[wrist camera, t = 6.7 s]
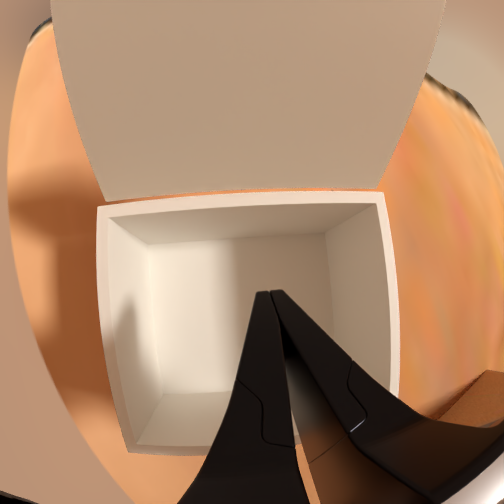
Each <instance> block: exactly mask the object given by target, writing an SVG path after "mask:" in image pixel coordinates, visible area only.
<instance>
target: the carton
mask: <svg viewBox="0 0 504 504" xmlns="http://www.w3.org/2000/svg"><path fill="white" fill-rule="evenodd" d="M96 269H97V292H98V306H99V317H100V326H101V334H102V342H103V349H104V356H105V362H106V367H107V373H108V378H109V383H110V388H111V392H112V397H113V401H114V405H115V409H116V413H117V417H118V421H119V424H120V428H121V431H122V435H123V438H124V441H125V444H126V447H127V450H128V452H130V453H140V454H153V455H176V456H198V455H208V452H209V450H210V448H211V446H212V443H213V441H214V439H215V437H216V434H217V432H218V430H219V427H220V425H221V423H222V420H223V418H224V415H225V412H226V410H227V407H228V404H229V400H230V397H231V393H232V389H233V385H234V381H235V378H236V374H237V369H238V365H239V361H240V357H241V353H242V349H243V344H244V340H245V336H246V332H247V328H248V323H249V319H250V315H251V310H252V306H253V302H254V298H255V293H256V292H257V291H266V290H267V291H270V290H276V289H282V290H284V291H285V292H286V293H287V294H288V295H289V296H290V297H291V298H292V299H293V300H294V301H295V302H296V303H297V304H298V305H299V306H300V307H301V308H302V309H303V310H304V311H305V312H306V313H307V314H308V315H309V316H310V317H311V318H312V319H313V320H314V321H315V322H316V323H317V324H318V325H319V326H320V327H321V328H322V329H323V330H324V331H325V332H326V333H327V334H328V335H329V336H330V337H331V338H332V339H333V340H334V341H335V342H336V343H337V344H338V345H339V346H340V347H341V348H342V349H343V350H344V351H345V352H346V353H347V354H348V355H349V356H350V357H351V358H352V360H354V361H355V362H356V363H357V364H358V365H359V366H360V367H361V368H362V369H364V370H365V371H366V372H367V373H368V374H369V375H370V376H371V377H372V378H373V379H374V380H376V381H377V382H378V383H379V384H381V385H382V386H383V387H384V388H385V389H387V390H388V391H389V392H391V393H392V394H393V395H395V396H396V397H397V398H398V392H399V373H400V322H399V302H398V288H397V277H396V268H395V259H394V251H393V244H392V237H391V231H390V225H389V219H388V214H387V208H386V203H385V198H384V194H383V192H363V191H286V192H255V193H234V194H217V195H202V196H189V197H177V198H166V199H156V200H147V201H138V202H129V203H121V204H113V205H105V206H98V208H97V231H96ZM291 413H292V411H291ZM292 422H293V430H294V439H295V445H297V444H302V443H301V440H300V436H299V433H298V430H297V427H296V424H295V420H294V417H293V414H292Z"/></svg>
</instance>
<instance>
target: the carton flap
mask: <svg viewBox="0 0 504 504" xmlns="http://www.w3.org/2000/svg"><path fill="white" fill-rule="evenodd" d="M446 1H447V0H50V5H51V14H52V22H53V29H54V35H55V41H56V47H57V52H58V57H59V62H60V66H61V71H62V75H63V79H64V83H65V87H66V91H67V94H68V98H69V102H70V105H71V108H72V112H73V115H74V118H75V121H76V125H77V128H78V131H79V134H80V137H81V140H82V142H83V145H84V148H85V151H86V154H87V156H88V159H89V162H90V164H91V167H92V169H93V172H94V174H95V177H96V179H97V182H98V184H99V187H100V189H101V191H102V194H103V196H104V198H105V201H106V202H110V201H118V200H126V199H134V198H143V197H152V196H162V195H172V194H184V193H196V192H210V191H226V190H246V189H273V188H363V189H376V188H377V186H378V184H379V182H380V180H381V178H382V176H383V174H384V172H385V170H386V167H387V165H388V163H389V161H390V159H391V157H392V155H393V152H394V150H395V148H396V146H397V143H398V141H399V139H400V137H401V134H402V132H403V130H404V127H405V125H406V123H407V120H408V118H409V115H410V113H411V110H412V108H413V105H414V103H415V100H416V98H417V95H418V92H419V90H420V87H421V84H422V82H423V79H424V76H425V73H426V70H427V67H428V64H429V61H430V58H431V55H432V52H433V49H434V46H435V42H436V39H437V36H438V32H439V29H440V25H441V21H442V18H443V13H444V9H445V5H446Z"/></svg>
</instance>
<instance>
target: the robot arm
mask: <svg viewBox="0 0 504 504" xmlns="http://www.w3.org/2000/svg"><path fill="white" fill-rule="evenodd" d="M291 411H292V413H291ZM292 414H293V417H294V420H295V424H296V427H297V430H298V433H299V436H300V440H301V443H302V446H303V449H304V452H305V456H306V459H307V462H308V464H309V469H310V472H311V475H312V478H313V481H314V484H315V488H316V491H317V494H318V497H319V500H320V503H321V504H504V417H502V418H501V419H499V420H498V421H496V422H495V423H493V424H492V425H490V426H489V427H487V428H485V427H475V426H468V425H461V424H455V423H450V422H444V421H439V420H434V419H431V418H428V417H425V416H423V415H421V414H419V413H417V412H416V411H414V410H413V409H412V408H410V407H409V406H408V405H406V404H405V403H404V402H402V401H401V400H400V399H398V398H397V397H396V396H395V395H393V394H392V393H391V392H389V391H388V390H387V389H385V388H384V387H383V386H382V385H381V384H379V383H378V382H377V381H376V380H374V379H373V378H372V377H371V376H370V375H369V374H368V373H367V372H366V371H365V370H364V369H362V368H361V367H360V366H359V365H358V364H357V363H356V362H355V361H354V360H352V358H351V357H350V356H349V355H348V354H347V353H346V352H345V351H344V350H343V349H342V348H341V347H340V346H339V345H338V344H337V343H336V342H335V341H334V340H333V339H332V338H331V337H330V336H329V335H328V334H327V333H326V332H325V331H324V330H323V329H322V328H321V327H320V326H319V325H318V324H317V323H316V322H315V321H314V320H313V319H312V318H311V317H310V316H309V315H308V314H307V313H306V312H305V311H304V310H303V309H302V308H301V307H300V306H299V305H298V304H297V303H296V302H295V301H294V300H293V299H292V298H291V297H290V296H289V295H288V294H287V293H286V292H285V291H284V290H282V289H276V290H270V291H267V290H266V291H257V292H256V293H255V298H254V302H253V306H252V310H251V315H250V319H249V323H248V328H247V332H246V336H245V340H244V344H243V349H242V353H241V357H240V361H239V365H238V369H237V374H236V378H235V381H234V385H233V389H232V393H231V397H230V400H229V404H228V407H227V410H226V412H225V415H224V418H223V420H222V423H221V425H220V427H219V430H218V432H217V434H216V437H215V439H214V441H213V443H212V446H211V448H210V450H209V452H208V455H207V457H206V459H205V461H204V463H203V465H202V467H201V469H200V471H199V473H198V474H197V476H196V478H195V479H194V481H193V482H192V484H191V485H190V487H189V488H188V489H187V491H186V492H185V494H184V495H183V496H182V498H181V499H180V501H179V502H178V503H177V504H310V503H309V499H308V496H307V493H306V490H305V487H304V484H303V480H302V477H301V474H300V471H299V467H298V462H297V456H296V449H295V439H294V430H293V422H292ZM0 504H38V503H35V502H33V501H30V500H27V499H24V498H21V497H17V496H14V495H11V494H8V493H6V492H3V491H0Z"/></svg>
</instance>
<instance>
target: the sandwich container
mask: <svg viewBox="0 0 504 504" xmlns="http://www.w3.org/2000/svg"><path fill="white" fill-rule="evenodd" d="M502 417H504V373H503V372H497V371H492V370H486V371H485V372H484V373H483V374H482V376H481V377H480V378H479V379H478V380H477V381H476V382H475V383H474V384H473V385H472V386H471V387H470V389H469V390H468V391H467V392H466V393H465V394H464V395H463V396H462V397H461V398H460V399H459V400H458V401H457V402H456V403H455V404H454V405H453V406H452V407H451V408H450V409H449V410H448V411H447V412H446V413H445V414H444V415H443V416H441V417H440V418H439V419H438V420H439V421H444V422H450V423H455V424H461V425H468V426H475V427H485V428H487V427H489V426H490V425H492V424H493V423H495V422H496V421H498V420H499V419H501V418H502Z"/></svg>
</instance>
